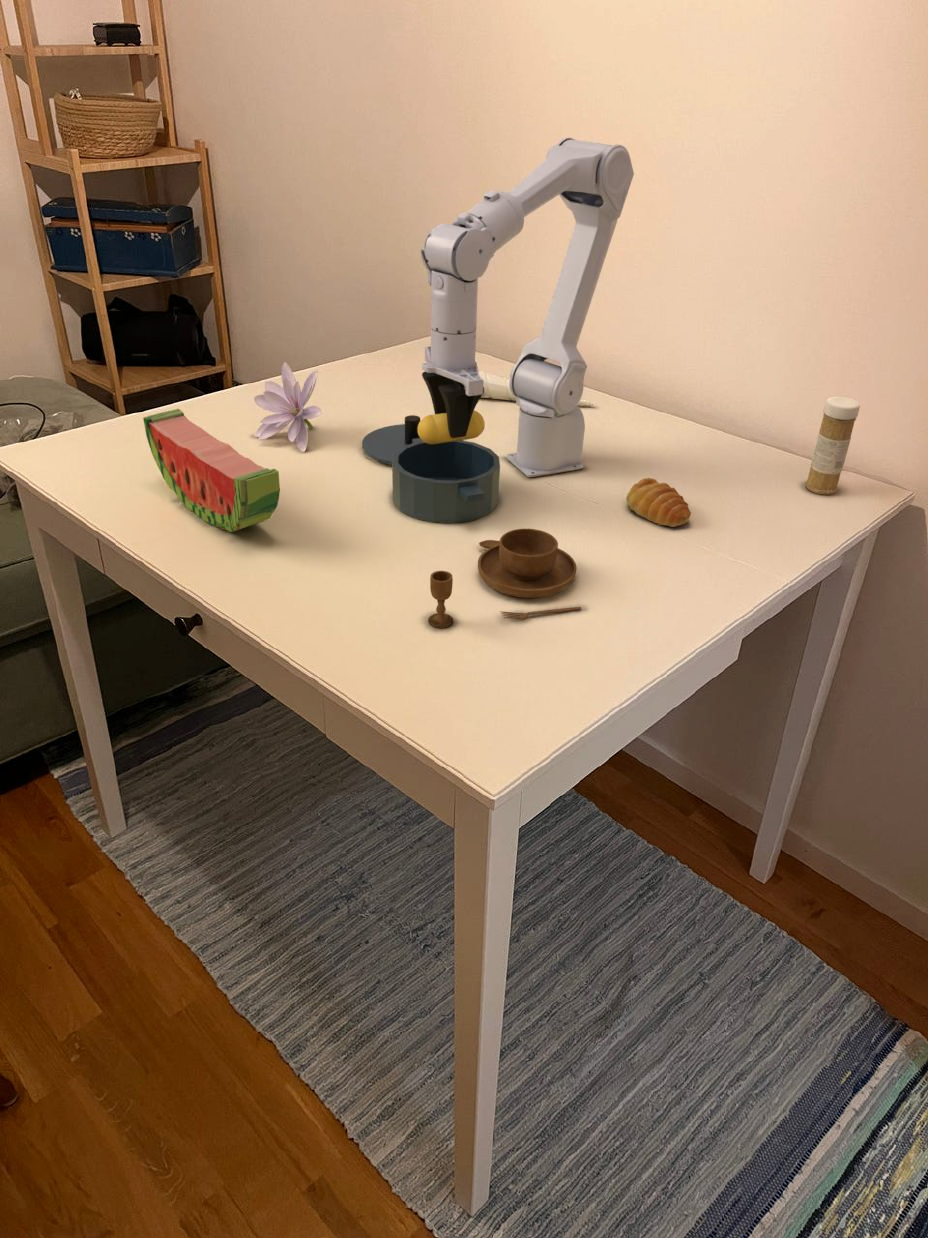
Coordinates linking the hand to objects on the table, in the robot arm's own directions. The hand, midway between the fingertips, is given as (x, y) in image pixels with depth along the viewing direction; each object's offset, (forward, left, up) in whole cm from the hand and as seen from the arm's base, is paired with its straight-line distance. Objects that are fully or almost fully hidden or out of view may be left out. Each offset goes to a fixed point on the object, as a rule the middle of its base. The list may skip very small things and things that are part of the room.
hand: (451, 430), depth 124 cm
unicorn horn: (-28, -32, -10) cm, 44 cm away
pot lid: (-2, -19, -10) cm, 21 cm away
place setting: (+3, +22, -10) cm, 25 cm away
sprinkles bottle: (-53, +15, -10) cm, 56 cm away
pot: (0, -1, -10) cm, 10 cm away
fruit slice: (+31, -8, -10) cm, 33 cm away
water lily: (+15, -30, -10) cm, 35 cm away
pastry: (-26, +13, -10) cm, 31 cm away
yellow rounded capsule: (0, 0, -1) cm, 1 cm away
